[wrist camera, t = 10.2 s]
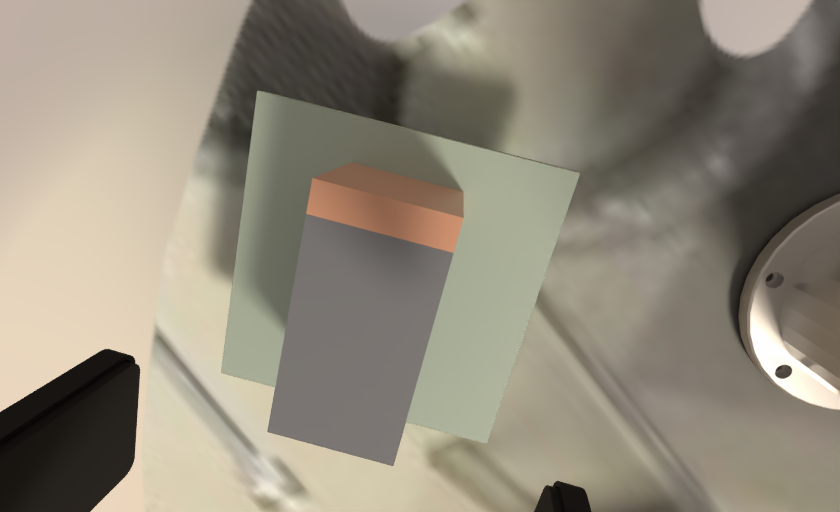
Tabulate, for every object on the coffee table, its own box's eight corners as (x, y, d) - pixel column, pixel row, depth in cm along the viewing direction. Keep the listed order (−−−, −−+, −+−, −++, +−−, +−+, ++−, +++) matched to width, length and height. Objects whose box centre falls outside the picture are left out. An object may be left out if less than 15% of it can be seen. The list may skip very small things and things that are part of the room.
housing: (409, 386, 23) (393, 466, 18) (311, 360, 23) (267, 431, 18) (463, 191, 20) (463, 217, 15) (351, 162, 20) (312, 178, 15)
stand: (555, 161, 25) (580, 173, 19) (482, 384, 29) (486, 443, 24) (300, 96, 25) (257, 90, 20) (264, 326, 29) (220, 373, 24)
